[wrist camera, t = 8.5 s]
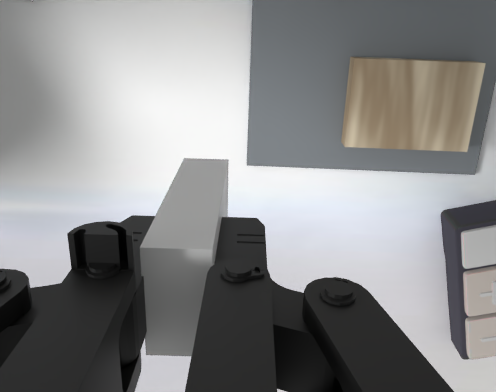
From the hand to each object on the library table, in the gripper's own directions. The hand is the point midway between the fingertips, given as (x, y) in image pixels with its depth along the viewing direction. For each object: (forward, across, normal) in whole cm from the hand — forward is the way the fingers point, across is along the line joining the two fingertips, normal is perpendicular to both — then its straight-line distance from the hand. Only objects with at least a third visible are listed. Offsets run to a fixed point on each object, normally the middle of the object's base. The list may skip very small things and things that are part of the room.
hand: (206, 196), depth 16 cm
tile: (+23, +9, 0) cm, 25 cm away
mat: (+25, +11, +5) cm, 27 cm away
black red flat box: (+25, +26, -16) cm, 40 cm away
